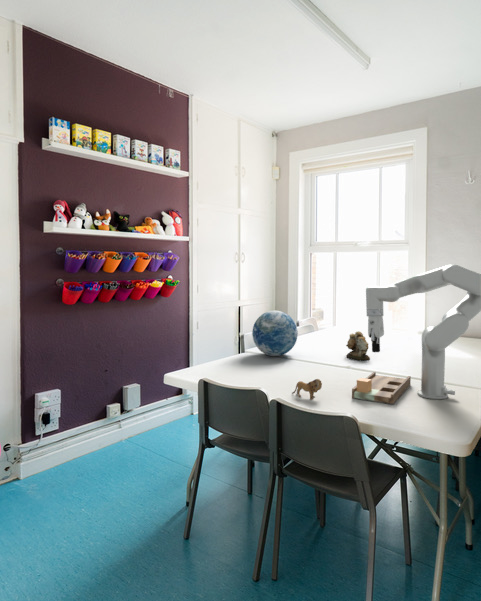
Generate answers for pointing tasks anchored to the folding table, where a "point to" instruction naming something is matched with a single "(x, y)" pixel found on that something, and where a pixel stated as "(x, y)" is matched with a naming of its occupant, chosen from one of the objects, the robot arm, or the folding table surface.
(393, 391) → the box
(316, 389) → the lion figurine
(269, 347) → the globe
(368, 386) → the block
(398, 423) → the folding table surface
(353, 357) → the brown lumpy sculpture
